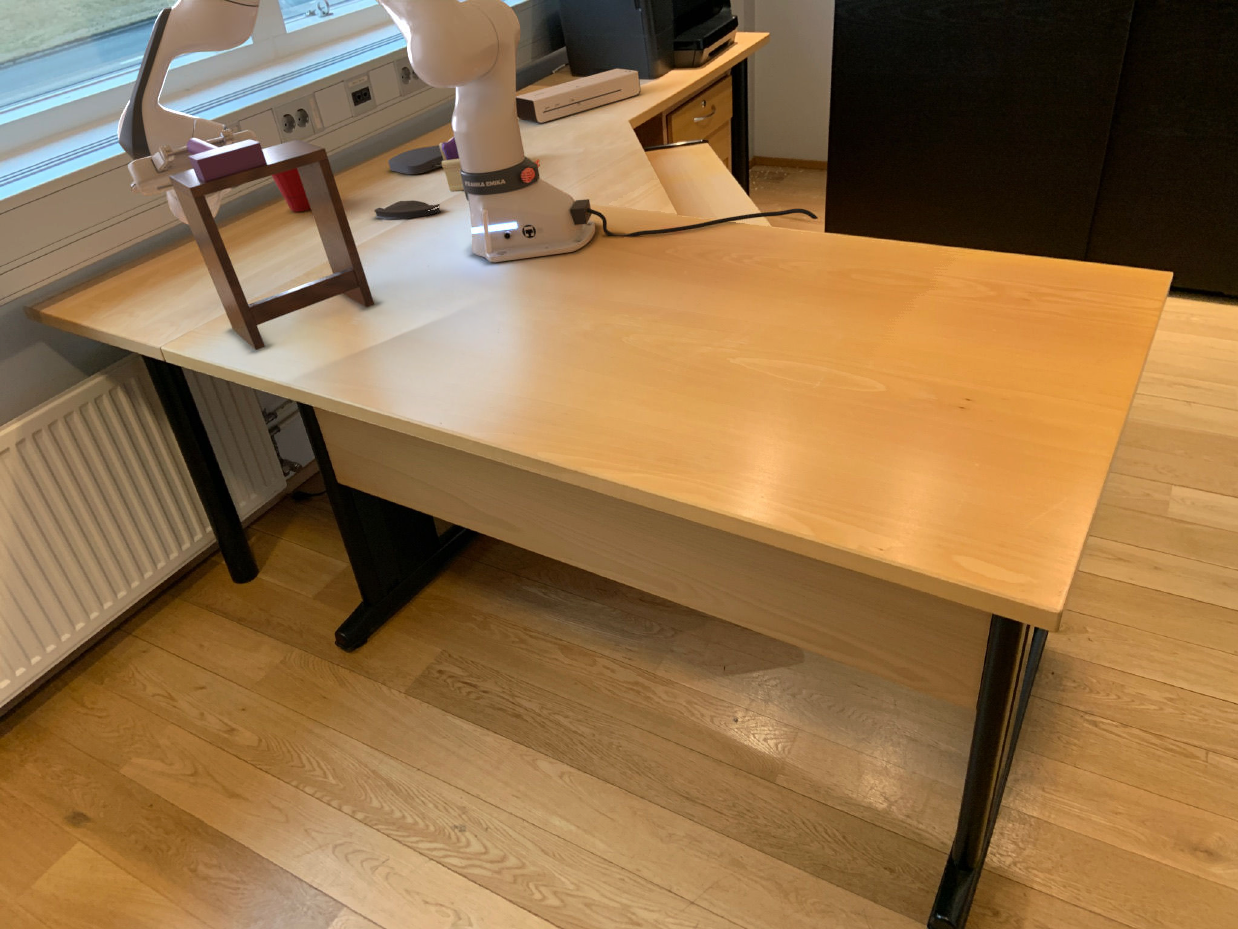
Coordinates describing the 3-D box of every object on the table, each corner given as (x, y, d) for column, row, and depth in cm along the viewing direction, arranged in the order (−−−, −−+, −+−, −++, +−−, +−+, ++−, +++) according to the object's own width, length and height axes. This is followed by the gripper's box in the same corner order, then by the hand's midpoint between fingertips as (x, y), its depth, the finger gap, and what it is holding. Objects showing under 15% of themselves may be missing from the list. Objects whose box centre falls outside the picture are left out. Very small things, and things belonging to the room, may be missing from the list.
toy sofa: (485, 189, 192) (474, 140, 186) (447, 192, 194) (435, 144, 188) (512, 160, 209) (503, 115, 203) (478, 164, 211) (468, 119, 205)
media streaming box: (384, 170, 219) (381, 158, 217) (434, 153, 226) (431, 141, 224) (415, 177, 209) (411, 164, 207) (466, 159, 216) (463, 146, 215)
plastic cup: (269, 215, 199) (249, 161, 193) (303, 199, 207) (285, 146, 200) (303, 217, 194) (284, 161, 188) (337, 200, 202) (320, 146, 195)
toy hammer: (170, 162, 138) (161, 143, 137) (226, 147, 142) (219, 127, 141) (205, 181, 124) (196, 160, 122) (267, 163, 128) (259, 142, 126)
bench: (346, 287, 153) (297, 139, 139) (374, 304, 145) (325, 148, 131) (233, 329, 144) (168, 175, 131) (256, 350, 136) (189, 187, 122)
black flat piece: (420, 222, 179) (418, 214, 178) (374, 218, 186) (372, 210, 185) (448, 208, 184) (446, 200, 183) (402, 204, 191) (400, 197, 190)
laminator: (537, 125, 236) (532, 100, 233) (515, 120, 245) (511, 96, 242) (641, 94, 249) (638, 70, 246) (617, 90, 259) (614, 67, 255)
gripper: (122, 176, 144) (118, 141, 132) (245, 142, 153) (251, 106, 141) (141, 212, 145) (138, 180, 133) (262, 176, 154) (270, 144, 142)
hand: (198, 142), depth 137 cm, fingers open, 8 cm apart
